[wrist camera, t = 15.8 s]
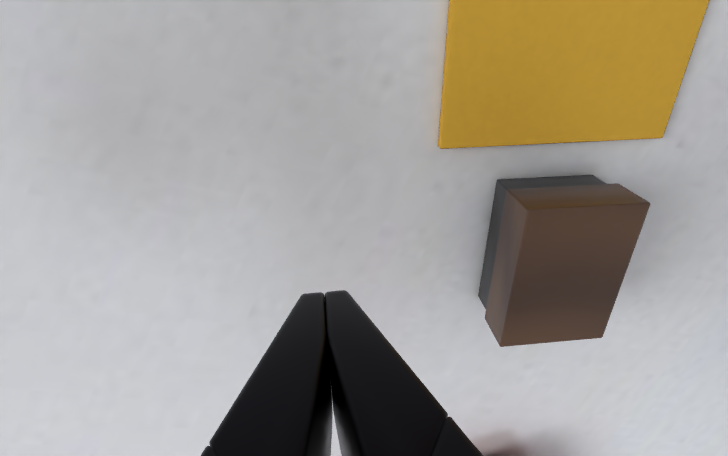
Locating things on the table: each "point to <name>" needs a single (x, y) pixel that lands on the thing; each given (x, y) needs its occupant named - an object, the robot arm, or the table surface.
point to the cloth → (563, 69)
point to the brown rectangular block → (557, 257)
